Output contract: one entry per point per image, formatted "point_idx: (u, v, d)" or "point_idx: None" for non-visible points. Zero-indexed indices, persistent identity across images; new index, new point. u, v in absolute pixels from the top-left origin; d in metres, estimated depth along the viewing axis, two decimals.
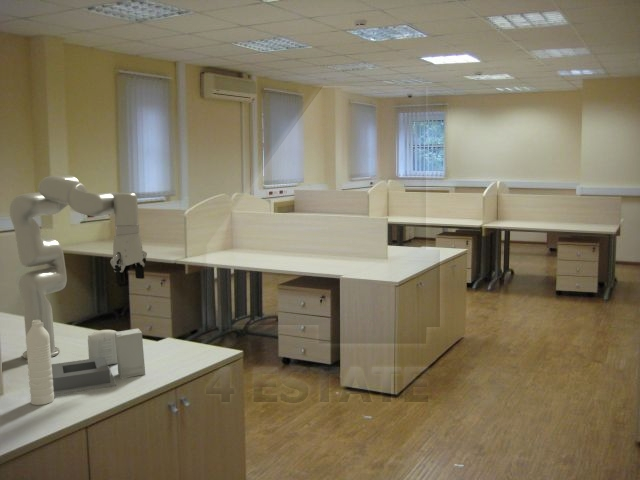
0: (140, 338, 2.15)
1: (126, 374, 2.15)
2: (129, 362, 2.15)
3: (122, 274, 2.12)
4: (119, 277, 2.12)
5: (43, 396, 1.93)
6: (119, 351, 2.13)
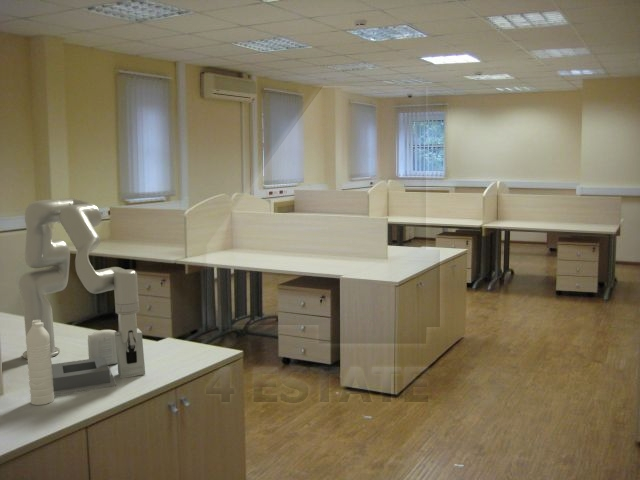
0: (140, 338, 2.15)
1: (126, 374, 2.15)
2: None
3: (135, 353, 2.14)
4: (133, 356, 2.13)
5: (43, 396, 1.93)
6: (119, 351, 2.13)
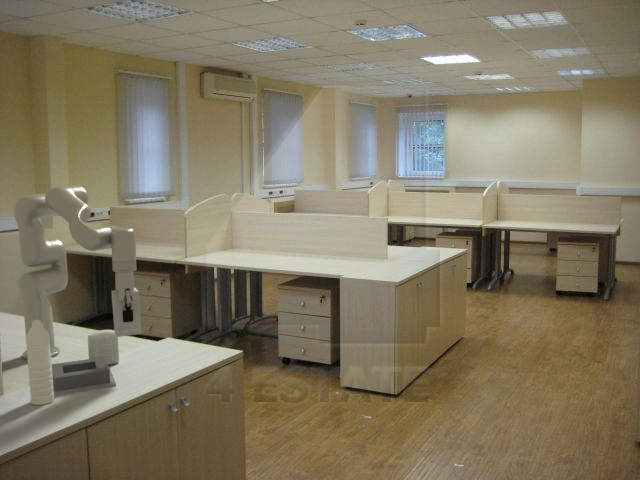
0: (137, 297, 2.14)
1: (123, 333, 2.13)
2: None
3: (131, 311, 2.13)
4: (129, 315, 2.12)
5: (43, 396, 1.93)
6: (115, 309, 2.11)
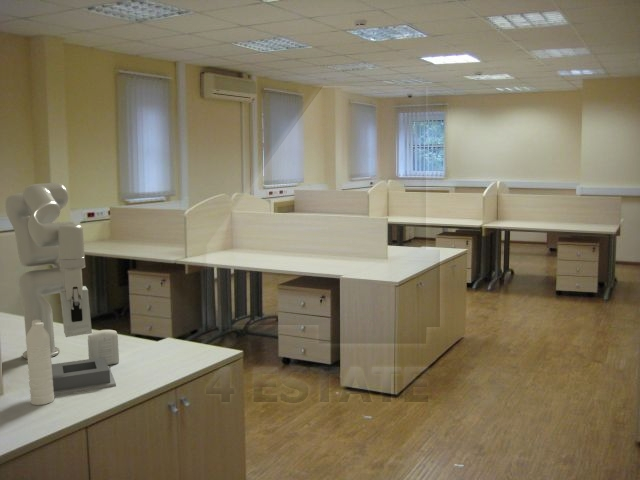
0: (86, 295, 2.07)
1: (72, 333, 2.06)
2: None
3: (80, 311, 2.06)
4: (78, 314, 2.05)
5: (43, 396, 1.93)
6: (63, 308, 2.04)
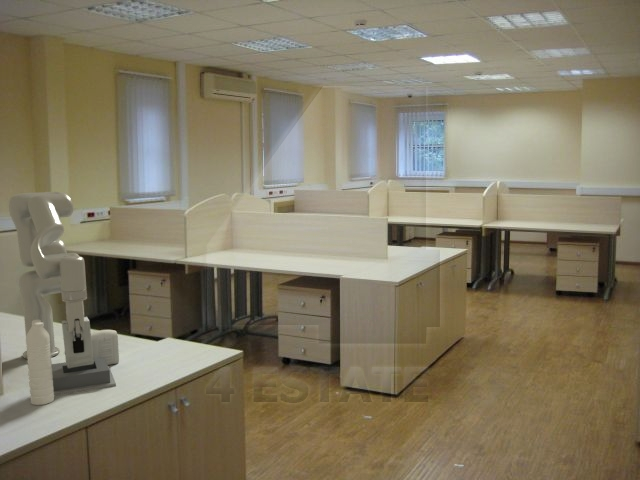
0: (88, 326, 2.08)
1: (73, 364, 2.08)
2: None
3: (82, 342, 2.07)
4: (79, 346, 2.06)
5: (43, 396, 1.93)
6: (65, 340, 2.06)
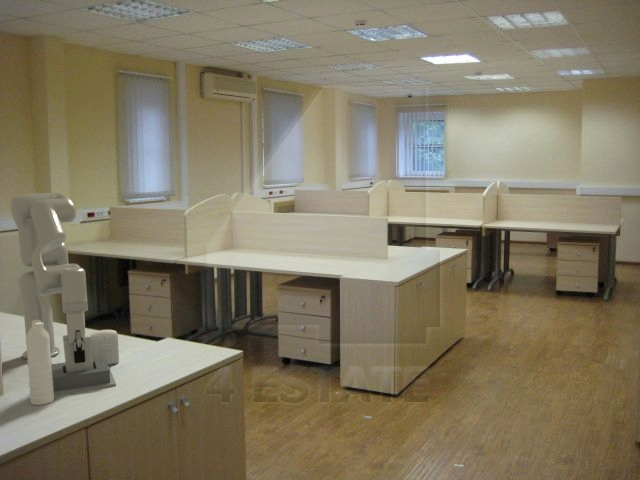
0: (88, 342, 2.08)
1: None
2: (77, 367, 2.08)
3: (83, 352, 2.06)
4: (80, 356, 2.05)
5: (43, 396, 1.93)
6: (66, 356, 2.06)
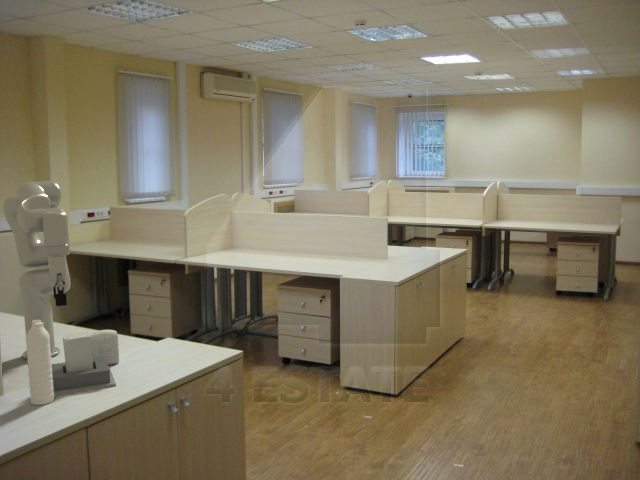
0: (88, 342, 2.09)
1: None
2: (77, 367, 2.08)
3: (64, 295, 2.07)
4: (62, 298, 2.06)
5: (43, 396, 1.93)
6: (66, 356, 2.06)
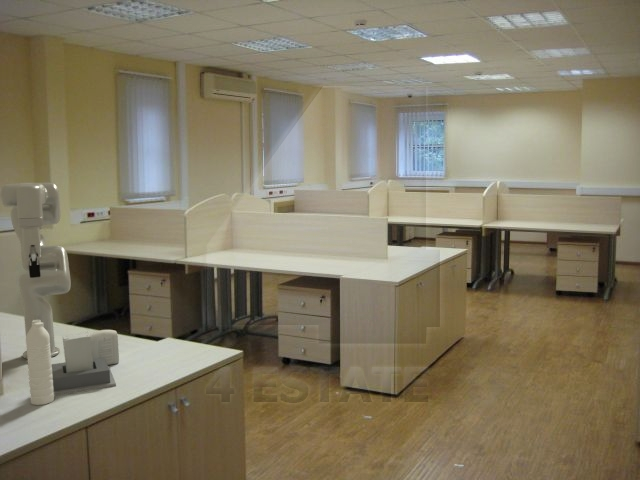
0: (88, 342, 2.09)
1: None
2: (77, 367, 2.08)
3: (38, 267, 2.10)
4: (35, 270, 2.09)
5: (43, 396, 1.93)
6: (66, 356, 2.06)
